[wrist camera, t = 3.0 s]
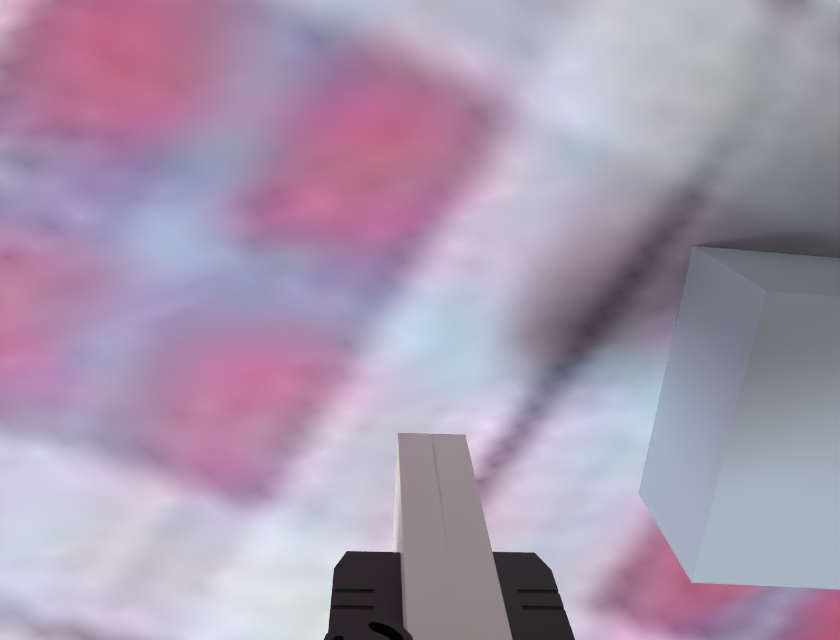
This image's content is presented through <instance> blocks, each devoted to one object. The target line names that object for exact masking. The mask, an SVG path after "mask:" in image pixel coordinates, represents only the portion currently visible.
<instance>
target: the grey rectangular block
mask: <svg viewBox="0 0 840 640" xmlns="http://www.w3.org/2000/svg"><path fill="white" fill-rule="evenodd" d="M639 494H640V496H641V498H642V499H643V501H644V503H645V504H646V506H647V508H648V509H649V511H650V513H651V515H652V516H653V518H654V520H655V521H656V523H657V525H658V526H659V528H660V530H661V531H662V533H663V535H664V537H665V538H666V540H667V542H668V543H669V545H670V547H671V548H672V550H673V552H674V553H675V555H676V557H677V559H678V560H679V562H680V564H681V565H682V567H683V569H684V570H685V572H686V574H687V575H688V577H689V579H690V581H691V582H694V583H716V584H737V585H759V586H780V587H802V588H823V589H840V258H835V257H823V256H811V255H799V254H787V253H775V252H763V251H751V250H739V249H727V248H715V247H703V246H693V247H692V252H691V257H690V261H689V266H688V270H687V275H686V279H685V284H684V289H683V293H682V298H681V302H680V307H679V311H678V316H677V321H676V325H675V330H674V334H673V339H672V343H671V348H670V353H669V357H668V362H667V366H666V371H665V375H664V380H663V384H662V389H661V394H660V398H659V403H658V407H657V412H656V416H655V421H654V426H653V430H652V435H651V439H650V444H649V448H648V453H647V458H646V462H645V467H644V471H643V476H642V480H641V485H640V490H639Z"/></svg>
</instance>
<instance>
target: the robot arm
mask: <svg viewBox="0 0 840 640" xmlns="http://www.w3.org/2000/svg"><path fill="white" fill-rule="evenodd" d="M392 541H393V552H359V551H347V552H346V553H345V555H344V556H343V557H342V559H341V560H340V561H339V563H338V564H337V565H336V567H335V568H334V575H333V586H332V597H331V609H330V619H329V629H328V633H327V634H326V636H325V638H324V640H575V638H574V635H573V632H572V629H571V626H570V623H569V621H568V618H567V615H566V612H565V610H564V606H563V603H562V600H561V597H560V594H558V588H557V585H556V582H555V579H554V577H553V574H552V571H551V569H550V568H549V567H548V566H547V565H546V564H545V563H544V562H543V561H542V560H541V559H540V558H539V557H538V556H537V555H536V554H535V553H521V552H492V549H491V544H490V540H489V536H488V531H487V527H486V523H485V518H484V514H483V510H482V505H481V501H480V497H479V493H478V488H477V484H476V480H475V475H474V471H473V467H472V462H471V458H470V454H469V449H468V445H467V441H466V436H465V435H453V434H417V433H398V442H397V461H396V480H395V499H394V518H393V538H392Z"/></svg>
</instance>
